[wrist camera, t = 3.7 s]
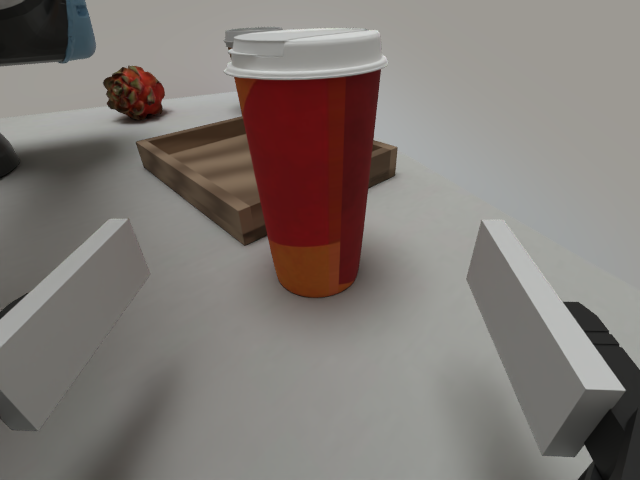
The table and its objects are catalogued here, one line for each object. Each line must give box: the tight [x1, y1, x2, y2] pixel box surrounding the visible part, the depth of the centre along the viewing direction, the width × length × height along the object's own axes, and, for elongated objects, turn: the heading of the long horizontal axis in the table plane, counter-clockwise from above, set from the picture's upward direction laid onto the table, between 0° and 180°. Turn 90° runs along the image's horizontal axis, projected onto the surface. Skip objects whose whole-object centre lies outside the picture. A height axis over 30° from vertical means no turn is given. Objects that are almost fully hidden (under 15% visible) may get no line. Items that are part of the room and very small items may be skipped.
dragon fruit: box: [103, 66, 165, 120], centre depth 58 cm, size 8×8×12 cm
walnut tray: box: [136, 116, 397, 245], centre depth 38 cm, size 22×18×3 cm
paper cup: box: [224, 28, 388, 298], centre depth 20 cm, size 8×8×14 cm
